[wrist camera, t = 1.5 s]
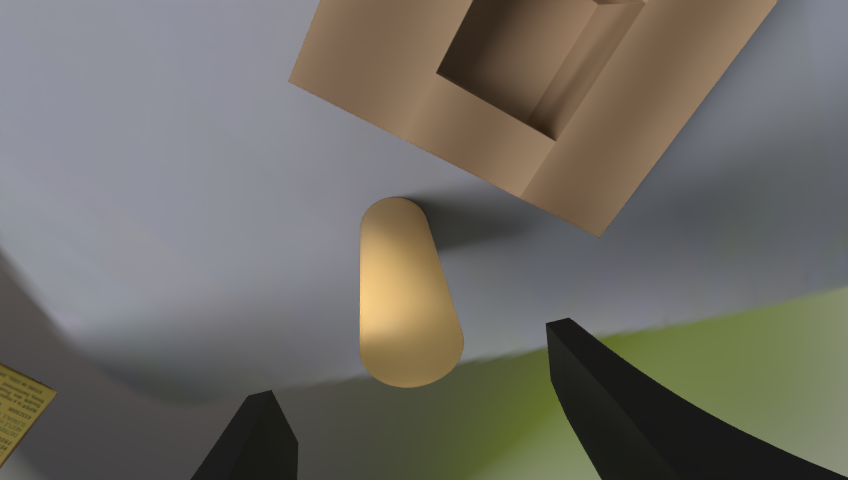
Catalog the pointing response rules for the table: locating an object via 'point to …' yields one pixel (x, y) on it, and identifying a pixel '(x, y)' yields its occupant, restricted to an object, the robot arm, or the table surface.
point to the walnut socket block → (530, 85)
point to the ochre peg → (404, 298)
